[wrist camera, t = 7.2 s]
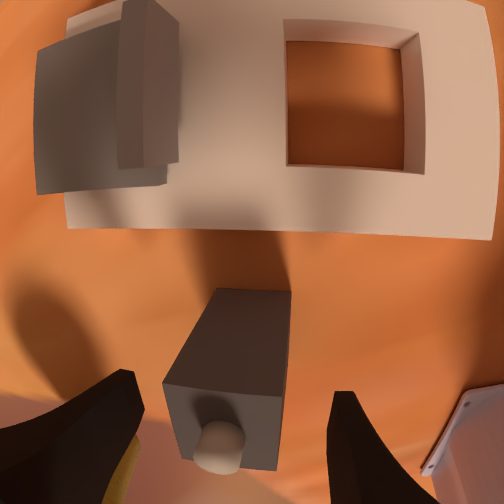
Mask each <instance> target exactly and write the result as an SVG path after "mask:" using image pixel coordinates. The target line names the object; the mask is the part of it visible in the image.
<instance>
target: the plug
mask: <svg viewBox="0 0 504 504" xmlns="http://www.w3.org/2000/svg"><path fill="white" fill-rule="evenodd" d="M290 315H291V292H290V291H266V290H245V289H227V288H217V289H216V291H215V293H214V294H213V296H212V298H211V300H210V301H209V303H208V305H207V306H206V308H205V310H204V311H203V313H202V315H201V317H200V318H199V320H198V322H197V323H196V325H195V327H194V329H193V330H192V332H191V334H190V335H189V337H188V339H187V341H186V342H185V344H184V346H183V347H182V349H181V351H180V353H179V354H178V356H177V358H176V360H175V361H174V363H173V365H172V366H171V368H170V370H169V372H168V373H167V375H166V377H165V379H164V380H163V382H162V385H163V390H164V394H165V398H166V402H167V406H168V410H169V414H170V418H171V422H172V425H173V429H174V432H175V436H176V440H177V443H178V447H179V450H180V453H181V457H182V458H183V459H188V460H193V461H195V463H196V464H197V465H198V466H199V467H201V468H203V469H204V470H206V471H209V472H212V473H216V474H232V473H234V472H236V471H237V470H238V469H239V468H246V469H256V470H267V471H277V463H278V455H279V446H280V437H281V428H282V419H283V409H284V399H285V389H286V378H287V367H288V353H289V335H290Z"/></svg>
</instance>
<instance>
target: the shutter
mask: <svg viewBox="0 0 504 504" xmlns="http://www.w3.org/2000/svg"><path fill="white" fill-rule="evenodd" d="M178 46H179V22H178V21H177V20H176V19H175V18H174V17H173V16H172V15H171V14H169V13H168V12H167V11H166V10H165V9H164V8H163V7H162V6H161V5H159V4H158V3H157V2H156V1H155V0H127V1H124V2H123V4H122V13H121V20H118V21H115V22H111V23H108V24H105V25H102V26H99V27H96V28H93V29H90V30H88V31H85V32H82V33H80V34H77V35H74V36H72V37H69V38H67V39H64V40H62V41H60V42H57V43H55V44H53V45H50V46H48V47H46V48H44V49H41V50H39V51H38V53H37V63H36V74H35V88H34V117H33V133H34V162H35V177H36V189H37V195H44V194H53V193H64V192H74V191H86V190H99V189H113V188H129V187H148V186H160V185H163V184H167V173H166V164H172V163H179V151H178Z"/></svg>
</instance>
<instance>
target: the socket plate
mask: <svg viewBox="0 0 504 504" xmlns="http://www.w3.org/2000/svg"><path fill="white" fill-rule="evenodd" d="M124 1H127V0H116V1H113V2H110V3H107V4H104V5H101V6H99V7H96V8H93V9H91V10H88V11H85V12H83V13H80V14H78V15H75V16H73V17H71V18H68V20H67V26H66V34H65V39H67V38H69V37H72V36H74V35H77V34H80V33H82V32H85V31H88V30H90V29H93V28H96V27H99V26H102V25H105V24H108V23H111V22H115V21H118V20H121V13H122V4H123V2H124ZM155 1H156V2H157V3H158V4H159V5H161V6H162V7H163V8H164V9H165V10H166V11H167V12H168V13H169V14H171V15H172V16H173V17H174V18H175V19H176V20H177V21H178V22H179V46H178V151H179V163H172V164H166V173H167V184H163V185H160V186H148V187H129V188H113V189H99V190H86V191H74V192H64V202H65V211H66V219H67V227H68V229H72V228H147V229H225V230H269V231H304V232H333V233H359V234H383V235H404V236H424V237H442V238H460V239H476V240H492V235H493V228H494V221H495V213H496V204H497V194H498V181H499V163H500V116H499V97H498V85H497V75H496V67H495V60H494V53H493V46H492V41H491V35H490V30H489V25H488V20H487V16H486V12H485V8H484V7H483V6H480V5H478V4H475V3H472V2H469V1H466V0H155ZM286 41H323V42H340V43H352V44H363V45H372V46H380V47H387V48H394V49H400V52H401V63H402V77H403V96H404V170H396V169H384V168H371V167H356V166H337V165H313V164H288V93H287V53H286Z"/></svg>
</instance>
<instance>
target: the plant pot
mask: <svg viewBox="0 0 504 504" xmlns="http://www.w3.org/2000/svg"><path fill="white" fill-rule="evenodd" d="M139 450H140V443H139V440H138V438H137V436H136V435H134V437H133V439H132V441H131V443H130V445H129V446H128V448H127V450H126V452H125V454H124V455H123V457H122V459H121V461H120V463H119V464H118V466H117V468H116V470H115V472H114V474H113V476H112V478H111V480H110V482H109V485H108V488H107V490H106V493H105V495H104V498H103V501H102V504H123V500H124V497H125V494H126V490H127V487H128V484H129V481H130V477H131V475H132V472H133V469H134V466H135V463H136V460H137V457H138V454H139Z"/></svg>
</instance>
